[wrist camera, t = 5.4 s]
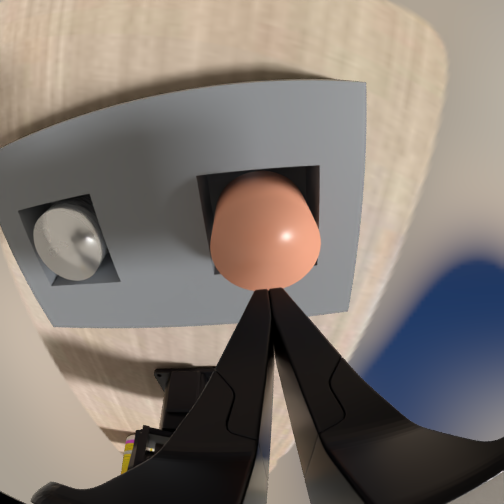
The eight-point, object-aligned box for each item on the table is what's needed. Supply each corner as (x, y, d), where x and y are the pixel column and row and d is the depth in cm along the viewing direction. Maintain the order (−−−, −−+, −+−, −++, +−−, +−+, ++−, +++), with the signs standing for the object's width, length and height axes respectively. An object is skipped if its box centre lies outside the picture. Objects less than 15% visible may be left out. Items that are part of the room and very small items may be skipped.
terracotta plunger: (305, 248, 15) (318, 286, 12) (222, 255, 15) (219, 295, 13) (305, 167, 13) (322, 193, 10) (209, 176, 13) (201, 204, 10)
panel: (331, 269, 20) (347, 311, 16) (73, 289, 20) (53, 327, 17) (336, 79, 13) (366, 82, 10) (18, 139, 13) (-22, 159, 10)
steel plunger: (127, 246, 17) (110, 278, 14) (72, 253, 17) (51, 282, 14) (107, 181, 14) (83, 204, 12) (50, 194, 14) (23, 217, 12)
